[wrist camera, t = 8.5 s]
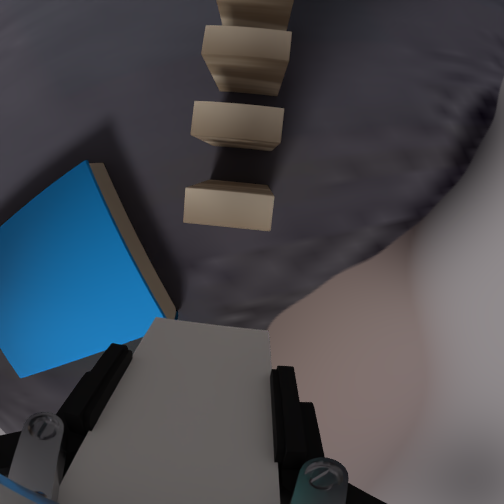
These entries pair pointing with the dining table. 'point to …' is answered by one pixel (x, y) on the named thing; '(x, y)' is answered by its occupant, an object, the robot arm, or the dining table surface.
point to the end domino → (183, 423)
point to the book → (74, 275)
